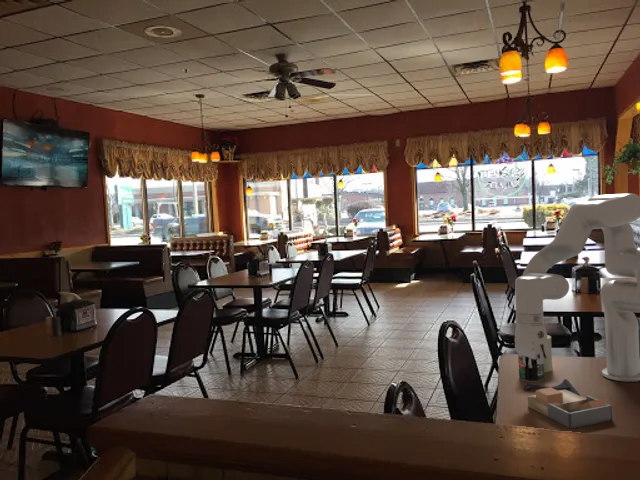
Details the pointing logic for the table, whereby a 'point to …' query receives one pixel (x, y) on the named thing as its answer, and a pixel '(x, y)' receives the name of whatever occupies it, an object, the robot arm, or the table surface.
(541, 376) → the canned tomato
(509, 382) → the table surface
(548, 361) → the can
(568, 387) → the bracket
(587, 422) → the bus tub
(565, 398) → the board
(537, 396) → the tile
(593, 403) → the tile
